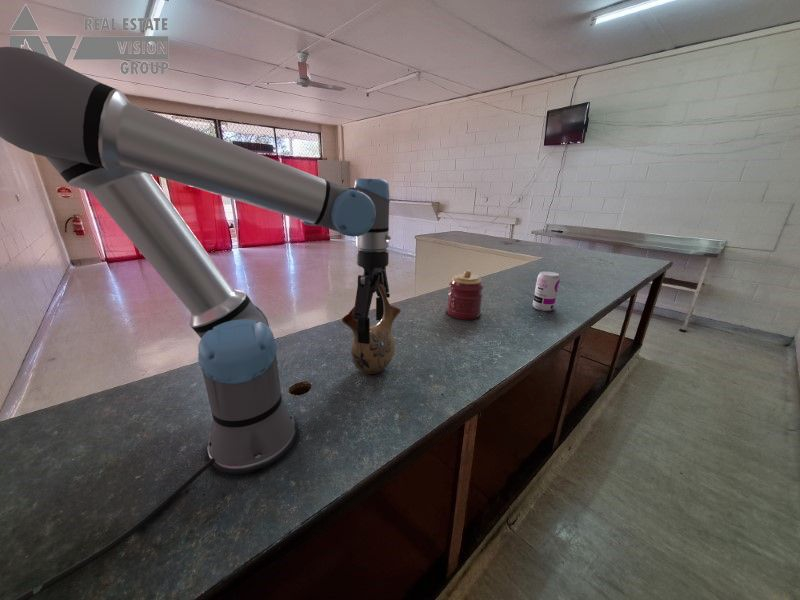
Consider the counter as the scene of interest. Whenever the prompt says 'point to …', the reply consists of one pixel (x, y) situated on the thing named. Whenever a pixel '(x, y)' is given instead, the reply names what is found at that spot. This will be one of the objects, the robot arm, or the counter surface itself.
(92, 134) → the robot arm
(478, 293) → the kitchen canister
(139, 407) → the counter surface
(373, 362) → the ceramic vessel
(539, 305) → the supplement can
